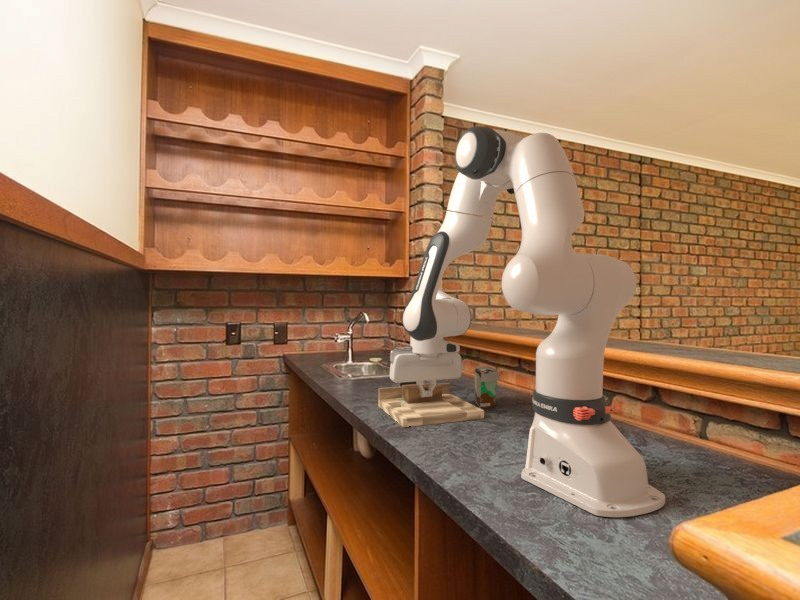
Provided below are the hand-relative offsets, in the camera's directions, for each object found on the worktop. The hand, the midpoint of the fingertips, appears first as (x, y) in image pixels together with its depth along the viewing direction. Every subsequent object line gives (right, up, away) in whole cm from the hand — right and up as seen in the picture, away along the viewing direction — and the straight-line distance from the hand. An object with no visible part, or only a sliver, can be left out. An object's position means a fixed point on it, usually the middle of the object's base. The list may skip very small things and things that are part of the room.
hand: (426, 396), depth 114 cm
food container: (+18, -4, +6) cm, 20 cm away
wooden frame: (+1, -4, -1) cm, 4 cm away
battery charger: (-4, -4, +17) cm, 18 cm away
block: (-1, -2, +3) cm, 4 cm away
